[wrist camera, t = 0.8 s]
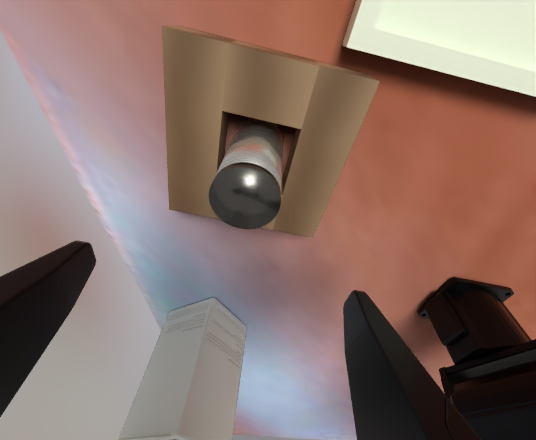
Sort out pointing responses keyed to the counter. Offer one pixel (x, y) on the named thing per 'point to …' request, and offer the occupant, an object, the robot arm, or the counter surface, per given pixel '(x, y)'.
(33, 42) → the counter surface
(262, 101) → the socket
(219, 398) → the supplement box
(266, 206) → the pin
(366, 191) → the counter surface
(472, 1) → the tray
